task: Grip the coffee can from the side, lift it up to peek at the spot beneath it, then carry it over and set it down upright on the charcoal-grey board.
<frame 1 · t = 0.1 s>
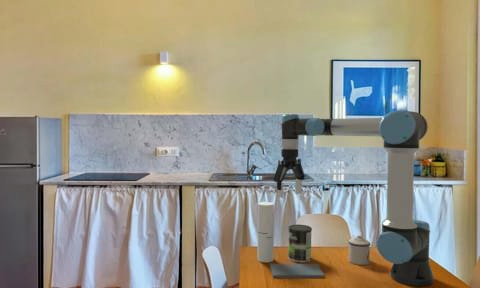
hand: (289, 195, 167), 28 cm above the table, tool pointing down, fingers open, 13 cm apart
cylindrical container: (265, 259, 164), on the table
teacup with lid: (358, 261, 164), on the table
slate board: (296, 271, 150), on the table
coffee can: (299, 258, 166), on the table
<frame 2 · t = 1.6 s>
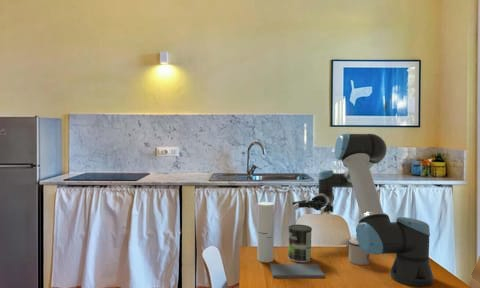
hand: (307, 209, 173), 20 cm above the table, tool horizontal, fingers open, 13 cm apart
nothing on the table moved.
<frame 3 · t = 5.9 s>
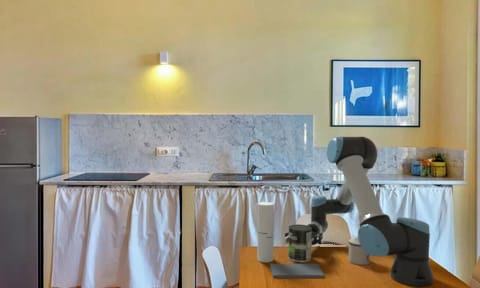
hand: (296, 243, 162), 8 cm above the table, tool horizontal, fingers closed on coffee can, 10 cm apart
coffee can: (299, 258, 166), on the table, touching gripper
everything else where it was.
when the fingers open (10 cm above the table, at t = 12.7 s): coffee can drops 1 cm, resting on slate board.
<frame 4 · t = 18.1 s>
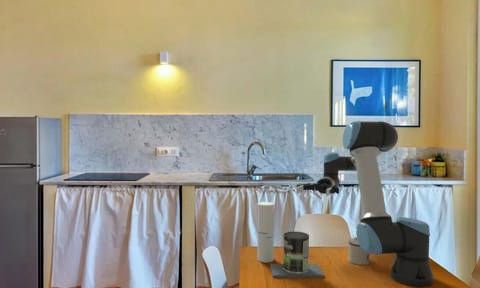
hand: (312, 191, 166), 30 cm above the table, tool horizontal, fingers open, 13 cm apart
coffee can: (296, 269, 150), point 1 cm above the table, touching slate board
everything else where it was.
at the end: coffee can inside the target area (0.2 cm from its centre), point 0.8 cm above the table; coffee can tilted 0°; the gripper is holding nothing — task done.
